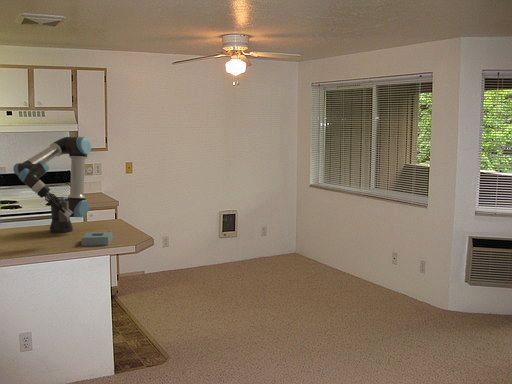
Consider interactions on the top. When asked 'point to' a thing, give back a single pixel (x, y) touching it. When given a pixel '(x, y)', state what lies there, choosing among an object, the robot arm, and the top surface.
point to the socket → (97, 238)
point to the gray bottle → (66, 206)
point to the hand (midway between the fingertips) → (70, 215)
